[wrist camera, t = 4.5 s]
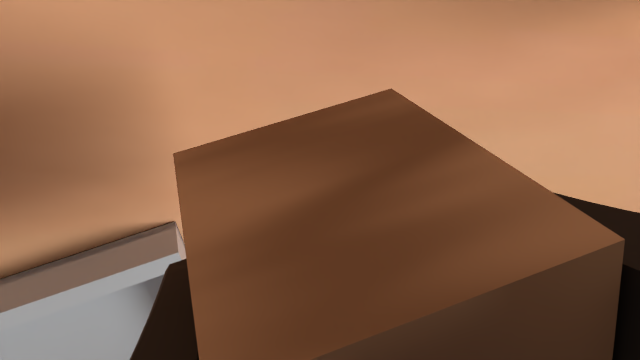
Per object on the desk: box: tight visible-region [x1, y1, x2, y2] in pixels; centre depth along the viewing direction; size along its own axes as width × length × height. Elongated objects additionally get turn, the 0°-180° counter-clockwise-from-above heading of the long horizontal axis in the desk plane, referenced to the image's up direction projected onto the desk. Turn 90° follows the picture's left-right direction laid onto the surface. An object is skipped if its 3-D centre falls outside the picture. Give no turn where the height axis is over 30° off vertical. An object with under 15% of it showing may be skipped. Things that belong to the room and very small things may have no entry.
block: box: [173, 89, 625, 360], centre depth 9 cm, size 4×4×6 cm
